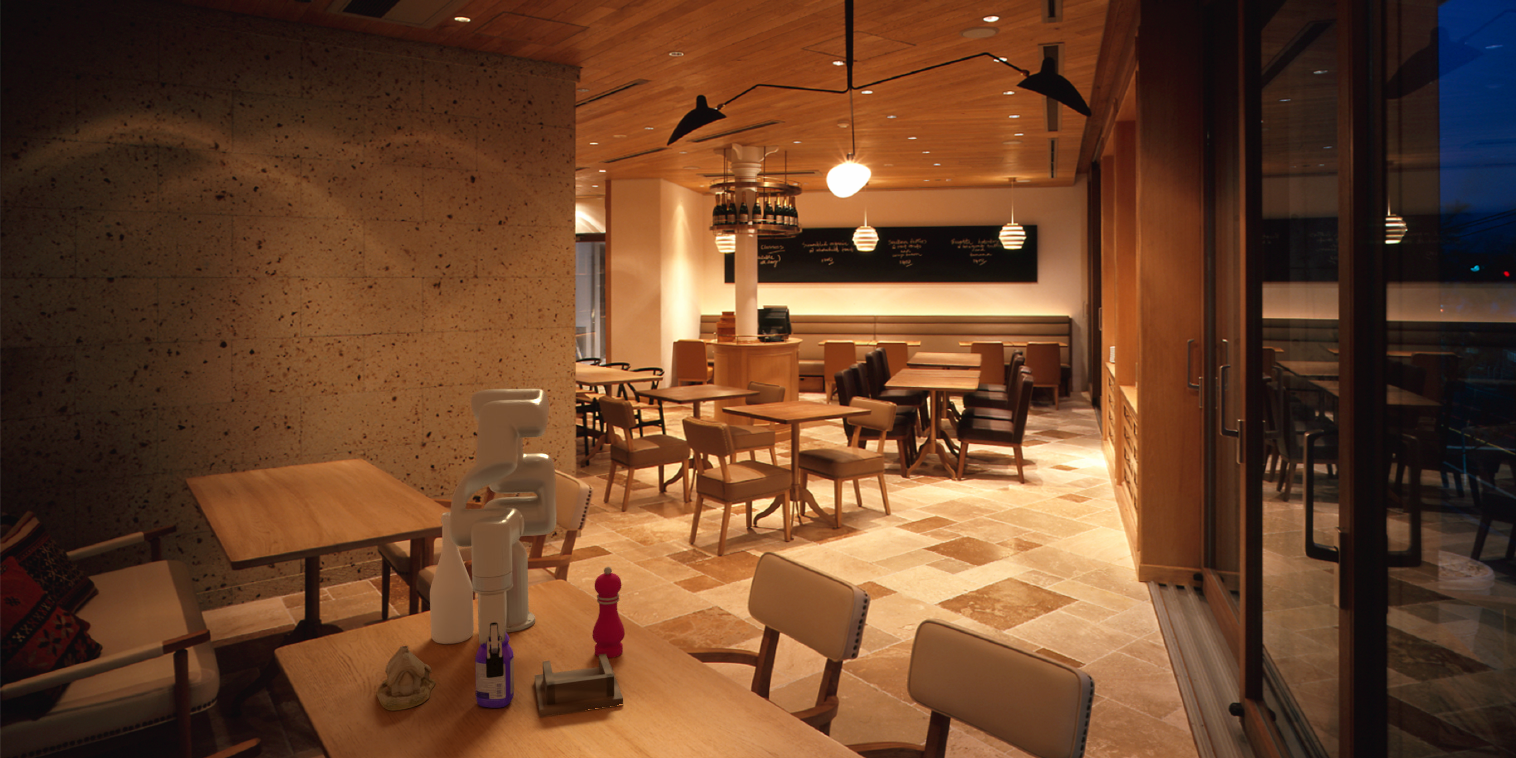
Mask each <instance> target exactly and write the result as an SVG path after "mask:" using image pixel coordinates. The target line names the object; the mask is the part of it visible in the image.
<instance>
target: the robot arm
mask: <svg viewBox="0 0 1516 758" xmlns="http://www.w3.org/2000/svg"><path fill="white" fill-rule="evenodd" d="M546 393H547V392H545V390H543V389H541V388H492V389H491V388H490V389H482V390H479V391H476V392H475V393H473V394H472V396H471V399H470V406H471V411H472V414H473V417H474V418H475V420H476V422H477V435H476V436H477V440H476V460H475V461H476V462H475V465H474V466H472V467H471V468H470V469H469V470H468V471H467V472H466V473H465V474H464V475H463V476H462V477H461V479H460V481H459V482H458V484H457V485H456V487H455V489H454V492H453V495H452V497H451V502H450V503H451V504H450V505H451V506H450V512H451V515H450V536H451V539H452V541H453V543H454V544H456V545H457V546H458V547H461V548H466V547H467V548H470V547H471V574H472V575H471V576H472V580H471V583H472V587H473V593H475V594H477V618H478V621H477V622H478V624H477V625H478V643H479V645H480V644H481V645H483V643H486V641H487V657H486V677H487V678H493V677H501V676H503V675H504V666H503V655H502V642H503V641H504V640H505V634H506V633H512V632H514V633H515V632H518V631H523V630H526V629H527V628H529V627H531V626H533V625H534V624H535V623H536V616H535V614H534V613H533V612H530V610H529V609H530V608H529V571H528V570H529V567H528V566H529V564H528V563H529V562H528V561H529V560H528V552H527V550H526V547H525V545H524V544H523V543H522V542H521V541H520V538H521V537H525V536H526V537H527V536H531V537H532V536H542V535H548V534H551V533H552V532H554V530H555V529H556V525H557V487H556V485H557V484H556V468H555V464H554V460H553V458H552V457H551V456H550V455H549V454H546V453H540V452H539V453H536V452H535V453H525V452H524V444H523V443H524V442H523V441H524V438H540V437H542V436H544V434H545V433H546V431H547V429H548V423H549V411H550V402H549V397H548V394H546ZM487 486H488V487H489V489H490V491H492V492H493V493H497V494H524V493H525V494H527V493H530V494H531V493H533V494H535V495H536V496H535V495H533V496H508V497H506V496H504V497H498V498H493V499H491V500H489V501H488V502H486V503H485V504H484V506H483V508H469V509H466V507H467V503H468V502H469V500H470V498H471V497H472V496H473V495H474V494H475V493H476V492H478V491H480V490H481V489H482V488H485V487H487ZM490 624H491V630H490ZM497 624H498V630H497ZM490 638H491V641H490V642H489V639H490ZM498 638H500V640H498ZM498 644H499V647H498ZM490 645H491V648H490Z"/></svg>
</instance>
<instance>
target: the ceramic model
mask: <svg viewBox="0 0 1516 758" xmlns="http://www.w3.org/2000/svg"><path fill="white" fill-rule="evenodd" d="M431 673H432V668H431V666H430V665H429V664H427V663H424V662H423V661H422V660H421V659H419V658H418V657H417V656H416V655H415V654H414V653H413V652H412V651H411V650H410V649H409V646H408V645H405V646H404V645H401V646H400V647H399V648H398V650H397V651H396V652H395V653H394V654H393V655H392V657H391V658H390V659H389V660H388V662H387V664H386V665H385V674H386V675H387V679H385V680H383V681H382V682H381V684H379V686H378V689H377V690H376V696H377V698H378V701H379V703H380V705H381V706H382V707H383V708H384V709H385V710H388V711H393V712H394V711H401V710H407V709H411V708H414V707H417V706H420V705H421V704H423V703H425V702H426V701H428V699H430V693H431V692H432V689H433V687H434V686H435V683H436V681H435V679H433V678H430V677H431V676H430V674H431Z"/></svg>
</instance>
